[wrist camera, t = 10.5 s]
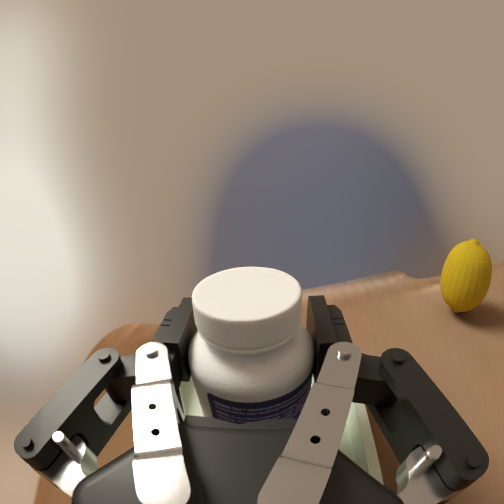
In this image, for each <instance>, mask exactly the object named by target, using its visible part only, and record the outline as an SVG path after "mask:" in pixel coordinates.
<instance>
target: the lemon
mask: <svg viewBox="0 0 504 504" xmlns="http://www.w3.org/2000/svg"><path fill="white" fill-rule="evenodd" d="M491 273H492V264H491V259H490V257H489V254H488V252H487V251H486V249H485V248H484V247H483V246H482V245H481V244H479V241H478V240H477V239H471V240H470V241H465V242H462V243H460V244H458V245H457V246H455V247H454V248H453V249H452V250H451V252H450V253H449V255H448V257H447V259H446V261H445V264H444V267H443V271H442V275H441V292H442V296H443V298H444V300H445V302H446V303H447V304H448V305H449V306H450V307H451V308H452V309H453V311H454V312H455V313H459V312H465V311H470V310H472V309H474V308H476V307H477V306H478V305H479V304H480V303H481V302H482V300H483V299H484V297H485V296H486V294H487V291H488V289H489V285H490V280H491Z"/></svg>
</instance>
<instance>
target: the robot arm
mask: <svg viewBox="0 0 504 504" xmlns="http://www.w3.org/2000/svg"><path fill="white" fill-rule="evenodd" d="M197 331H198V330H197V327H196V324H195V319H194V313H193V305H192V298H183V299H182V301H181V303H180V305H179V307H173V308H172V309H171V310H170V311H168V312H167V313H166V315H165V317H164V320H163V321H162V323H161V326H160V327H159V328H158V330H157V332H156V334H155V336H154V338H153V340H152V342H150V343H146V344H144V345H142V346H141V347H140V348H139V349H138V350H137V352H136V354H135V355H129V356H121V357H120V355H119V353H118V351H117V350H116V349H114V348H103V349H100V350H98V351H96V352H95V353H94V354H93V355H92V356H91V357H90V358H89V359H88V360H87V361H86V362H85V363H84V364H83V365H82V366H81V367H80V368H79V369H78V370H77V372H75V373H74V374H73V376H72V377H71V378H70V379H69V380H68V381H67V382H66V383H65V384H64V385H63V386H62V387H61V388H60V389H59V390H58V391H57V392H56V394H54V395H53V397H52V398H51V399H50V400H49V401H48V402H47V403H46V404H45V405H44V406H43V407H42V408H41V410H40V411H39V412H38V413H37V414H36V415H35V416H34V417H33V418H32V419H31V420H30V422H29V423H28V424H27V425H26V426H25V427H24V428H23V430H22V431H21V432H20V433H19V434H18V435H17V437H16V439H15V442H14V448H15V451H16V453H17V454H18V455H19V456H20V457H21V458H22V459H23V460H24V461H25V462H26V463H28V464H29V466H30V467H31V468H32V469H33V470H34V471H36V472H37V473H38V474H39V475H41V476H42V477H43V478H44V479H46V480H47V481H49V482H51V483H52V484H53V485H55V486H56V487H57V488H59V489H60V490H63V491H64V492H66V493H67V494H68V495H70V496H71V497H72V504H444V503H446V502H447V501H449V500H450V499H452V498H453V497H455V496H456V495H457V494H459V493H460V492H462V491H463V490H464V489H466V488H467V487H468V486H470V485H471V484H472V483H473V482H475V481H476V480H477V479H478V478H480V477H481V476H482V475H483V474H484V473H485V472H486V470H487V468H488V465H489V457H488V454H487V452H486V450H485V449H484V447H483V446H482V445H481V443H480V442H479V441H478V439H477V438H476V436H475V435H474V434H473V432H472V431H471V430H470V428H469V427H468V426H467V424H466V423H465V422H464V420H463V419H462V418H461V416H460V415H459V414H458V412H457V411H456V410H455V409H454V407H453V406H452V405H451V403H450V402H449V401H448V400H447V398H446V397H445V396H444V395H443V393H442V392H441V391H440V390H439V388H438V387H437V386H436V385H435V383H434V382H433V381H432V380H431V379H430V377H429V376H428V375H427V374H426V372H425V371H424V370H423V369H422V368H421V366H420V365H419V364H418V363H417V362H416V360H415V359H414V358H413V357H412V356H411V355H410V354H409V353H408V352H407V351H405V350H403V349H399V348H391V349H388V350H386V351H385V352H383V354H382V356H381V357H377V356H370V355H365V354H363V353H362V352H361V350H360V348H359V347H358V346H356V345H355V344H353V343H352V340H351V337H350V334H349V332H348V329H347V326H346V324H345V320H344V319H343V315H342V312H341V310H340V309H338V308H337V307H336V306H335V305H327V304H326V301H325V298H324V295H321V296H308V307H307V331H308V332H309V334H310V336H311V338H312V340H313V344H314V349H315V358H314V368H313V376H314V383H313V385H312V387H311V390H310V392H309V395H308V397H307V400H306V402H305V404H304V407H303V409H302V411H301V414H300V416H299V418H298V420H297V423H296V425H295V418H291V419H265V420H260V421H255V422H250V423H244V424H234V423H230V422H227V421H223V420H219V419H216V418H212V417H202V416H192V415H186V414H185V409H184V405H183V400H182V395H181V391H180V388H179V387H180V384H181V381H183V382H189V381H190V378H191V371H190V367H189V361H188V350H189V345H190V343H191V340H192V338H193V336H194V335H195V333H196V332H197ZM104 389H105V390H106V392H107V393H106V394H105V395H104V396H103V397H102V399H101V400H100V401H99V402H98V404H97V405H96V406H95V407H94V402H95V400H96V398H97V397H98V396H99V395H100V394H101V392H102V391H103V390H104ZM352 402H354V403H361V404H367V406H368V408H369V409H370V411H371V413H372V415H373V416H374V418H375V420H376V422H377V423H378V425H379V427H380V429H381V430H382V432H383V434H384V436H385V437H386V439H387V441H388V443H389V445H390V446H391V448H392V450H393V452H394V454H395V455H396V457H397V459H398V461H399V463H400V464H401V465H400V466H399V468H398V469H397V471H396V476H395V478H396V482H397V487H398V488H397V493H396V494H395V493H394V492H392V491H391V490H389V489H388V488H387V487H385V486H384V485H383V484H381V483H380V482H379V481H377V480H376V479H375V478H373V477H372V476H371V475H370V474H368V473H367V472H366V471H364V470H363V469H362V468H361V467H359V466H358V465H357V464H356V463H354V462H353V461H352V460H351V459H349V458H348V457H347V456H346V455H345V454H343V453H342V452H341V451H340V450H339V449H338V448H339V445H340V442H341V439H342V436H343V432H344V429H345V425H346V422H347V418H348V415H349V411H350V407H351V403H352ZM131 409H132V417H133V433H134V447H133V448H131V449H130V450H128V451H127V452H125V453H124V454H122V455H120V456H119V457H117V458H116V459H114V460H112V461H111V462H109V463H108V464H106V465H104V466H103V467H101V468H99V469H97V464H98V460H97V456H98V455H99V453H100V452H101V451H102V449H103V448H104V446H105V445H106V444H107V442H108V441H109V440H110V438H111V437H112V435H113V434H114V433H115V431H116V430H117V428H118V427H119V426H120V424H121V423H122V422H123V420H124V419H125V417H126V416H127V415H128V413H129V412H130V410H131Z"/></svg>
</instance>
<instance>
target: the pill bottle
mask: <svg viewBox="0 0 504 504" xmlns="http://www.w3.org/2000/svg"><path fill="white" fill-rule="evenodd" d="M192 305H193V313H194V319H195V324H196V327H197V330H198V331H197V332H196V333H195V335H194V336H193V338H192V340H191V343H190V345H189V350H188V361H189V367H190V371H191V375H192V379H193V382H194V385H195V389H196V392H197V395H198V398H199V402H200V405H201V408H202V412H203V415H204V417H212V418H216V419H219V420H223V421H227V422H230V423H234V424H244V423H250V422H255V421H260V420H265V419H291V418H295V425H296V423H297V420H298V418H299V416H300V414H301V411H302V409H303V407H304V404H305V402H306V400H307V397H308V395H309V392H310V390H311V384H312V377H313V368H314V358H315V349H314V344H313V340H312V338H311V336H310V334H309V332H308V331H307V330H306V328H305V327H304V326H303V325H302V324H301V310H302V291H301V287H300V285H299V283H298V282H297V281H296V280H295V279H294V278H293V277H292V276H290V275H289V274H287V273H284V272H282V271H279V270H276V269H271V268H264V267H240V268H233V269H228V270H224V271H221V272H218V273H215V274H213V275H211V276H209V277H207V278H205V279H204V280H202V281H201V282H200V283H199V284H198V285H197V286H196V287H195V289H194V291H193V294H192Z"/></svg>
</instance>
